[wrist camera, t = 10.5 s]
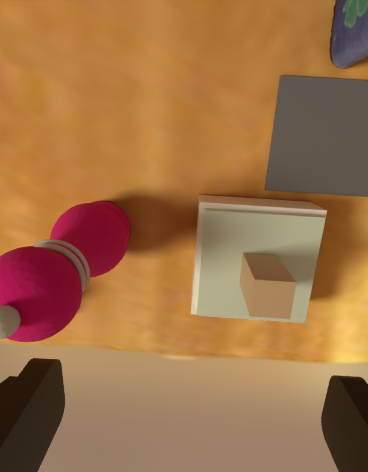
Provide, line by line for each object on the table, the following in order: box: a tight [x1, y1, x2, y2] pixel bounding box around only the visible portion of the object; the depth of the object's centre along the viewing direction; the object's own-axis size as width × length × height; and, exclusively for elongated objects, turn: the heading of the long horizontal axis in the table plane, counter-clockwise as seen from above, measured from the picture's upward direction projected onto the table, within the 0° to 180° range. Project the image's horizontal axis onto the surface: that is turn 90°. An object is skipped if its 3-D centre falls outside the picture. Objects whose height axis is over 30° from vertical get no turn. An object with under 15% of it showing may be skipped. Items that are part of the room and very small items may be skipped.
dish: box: [191, 195, 327, 314], centre depth 33 cm, size 12×12×4 cm
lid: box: [197, 208, 325, 323], centre depth 27 cm, size 11×11×7 cm
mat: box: [265, 75, 368, 197], centre depth 31 cm, size 11×11×1 cm
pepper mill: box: [0, 201, 131, 342], centre depth 25 cm, size 7×7×20 cm
